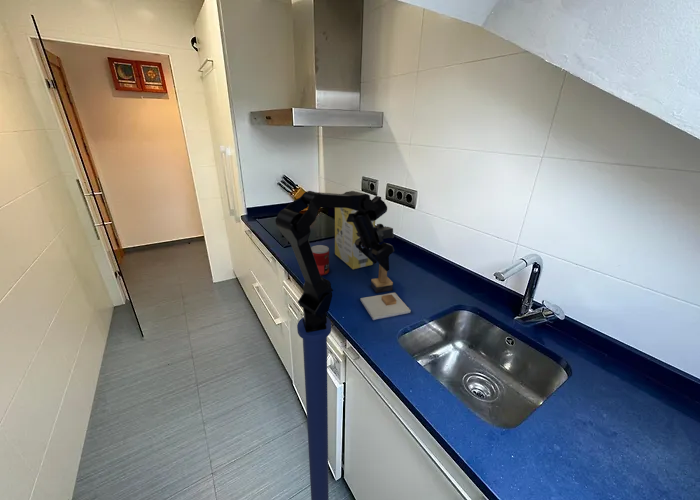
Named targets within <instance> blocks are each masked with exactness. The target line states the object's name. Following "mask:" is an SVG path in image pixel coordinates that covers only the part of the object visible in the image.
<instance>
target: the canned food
mask: <svg viewBox="0 0 700 500" xmlns="http://www.w3.org/2000/svg"><path fill="white" fill-rule="evenodd" d="M311 249H312V252H313V255H314V258H315V261H316V264H317V267H318V270H319V273H320V276H325V275H327V274H328V273H329V272H330V248H329V246H327V245H324V244H323V245H322V244H318V245H317V244H316V245H313V246H311Z"/></svg>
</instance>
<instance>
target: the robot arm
mask: <svg viewBox="0 0 700 500" xmlns="http://www.w3.org/2000/svg"><path fill="white" fill-rule="evenodd" d="M321 208H332V209H335V208H349V209H352V210H356V212H355V213H350V214H349V215H348V218H347V220H346V221H347V222H353V223H354V225H355V228H356V230H357V232H358V233H356V234H357V236H359V237H360V238H359V239H357V240H356V241H355V245H356V248H358V249H359V250H360V251H361V252H362V253H363V254H364V255H365V256H366V257H368V258H369V259H370V260H371V261H372V262H373V265H374V264H375V265H376V264H378V265H379V264H380V265H381V266H382V267H383V268H384V269H385V270H386V271H387V272H389V271H390V256H391V255H392V254H393V253H394V252H395V248H394V245H392V244H390V243H387V242H384V239H386V240H387V239H393V238H394V228H393V227H391V226H385V225H384V224H382V223H376V224H375V227H374V226H373V223H372V221H375V222H376V221H377V220H378V219H380V218H381V217H382V216H383V215H384V214H386V213H387V211H388V206H387V204H386V203H385V201H384V200H383V199H382V196H379V195H376V196H374V197H373V198H372V199H371V195H370V194H368V193H364V192H360V191H356V190H350V191H345V192H344V193H331V192H317V191H313V190H307V191H305V192H304V193H302V194H301V196H300V197H298V198H297V199H295V200H293V201H291V202H290V203H288V204H287V205H286V207H284V208H283V209H281V210H280V211H279V212H278V214H277V215H276V218H275V225H276V227H277V229H278V230H279V231H280V233H281V235H282V236H283V237H284V238H285V239H286V240H287V241H288V242H289V244H290V246H291V248H292V251H293V253H294V256H295V259H296V261H297V264H298V267H299V269H300V272H301V275H302V278H303V280H304V284H303V286H302V287H303V292H302V294H301V296H300V298H299V299H298V301H297V303H298V305H299V307H301V308H302V313H303V316H302V317H304V319H303V324H304V327H305V331H306V332H307V333H308V332H313V331H318V330H324V329H326V323H327V318H328V315H327V313H328V312H329V310H330V307H331V303H332V299H333V292H334V289H333V287H332V284H331V281H330V280H329V279H327V278H324V277H323V276H322V275H320V273H319V270H318V267H317V264H316V261H315V258H314V255H313V252H312V249H311V247H312V246H311V243H310V241H309V239H310V235H311V226H312V225H313V224H314V222H315V221H316V219H317V215H318V213H319V210H320V209H321ZM305 209H307V210H306V211H305V212H304V213H301V212H302V211H304V210H305Z"/></svg>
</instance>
